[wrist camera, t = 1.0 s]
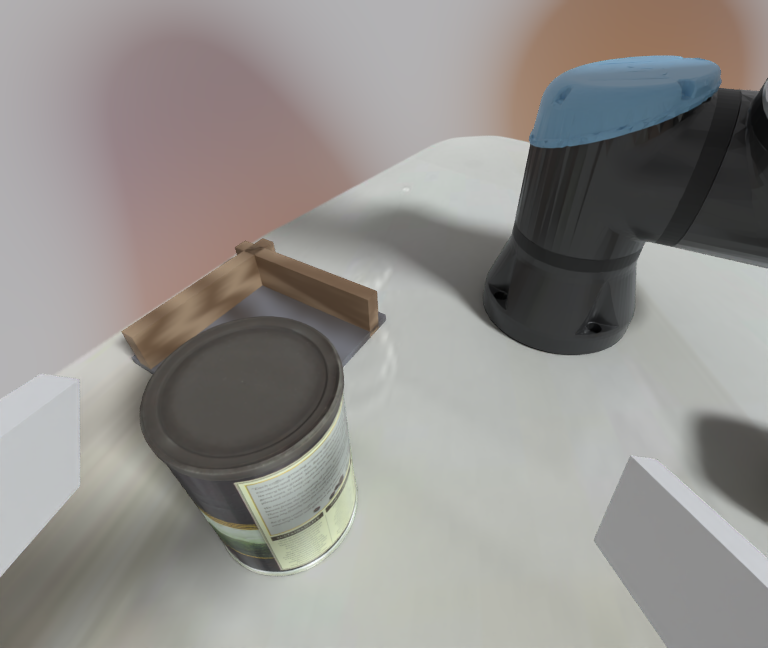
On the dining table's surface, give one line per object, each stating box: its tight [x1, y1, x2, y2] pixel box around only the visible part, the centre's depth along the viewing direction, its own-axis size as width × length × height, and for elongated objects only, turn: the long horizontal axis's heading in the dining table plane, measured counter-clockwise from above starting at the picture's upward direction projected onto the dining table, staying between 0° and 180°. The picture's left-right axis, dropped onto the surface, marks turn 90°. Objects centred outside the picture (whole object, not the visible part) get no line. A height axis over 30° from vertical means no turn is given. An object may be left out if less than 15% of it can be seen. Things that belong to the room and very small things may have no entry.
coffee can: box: [140, 316, 358, 576], centre depth 27 cm, size 10×10×14 cm
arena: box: [122, 238, 386, 374], centre depth 43 cm, size 18×18×5 cm
